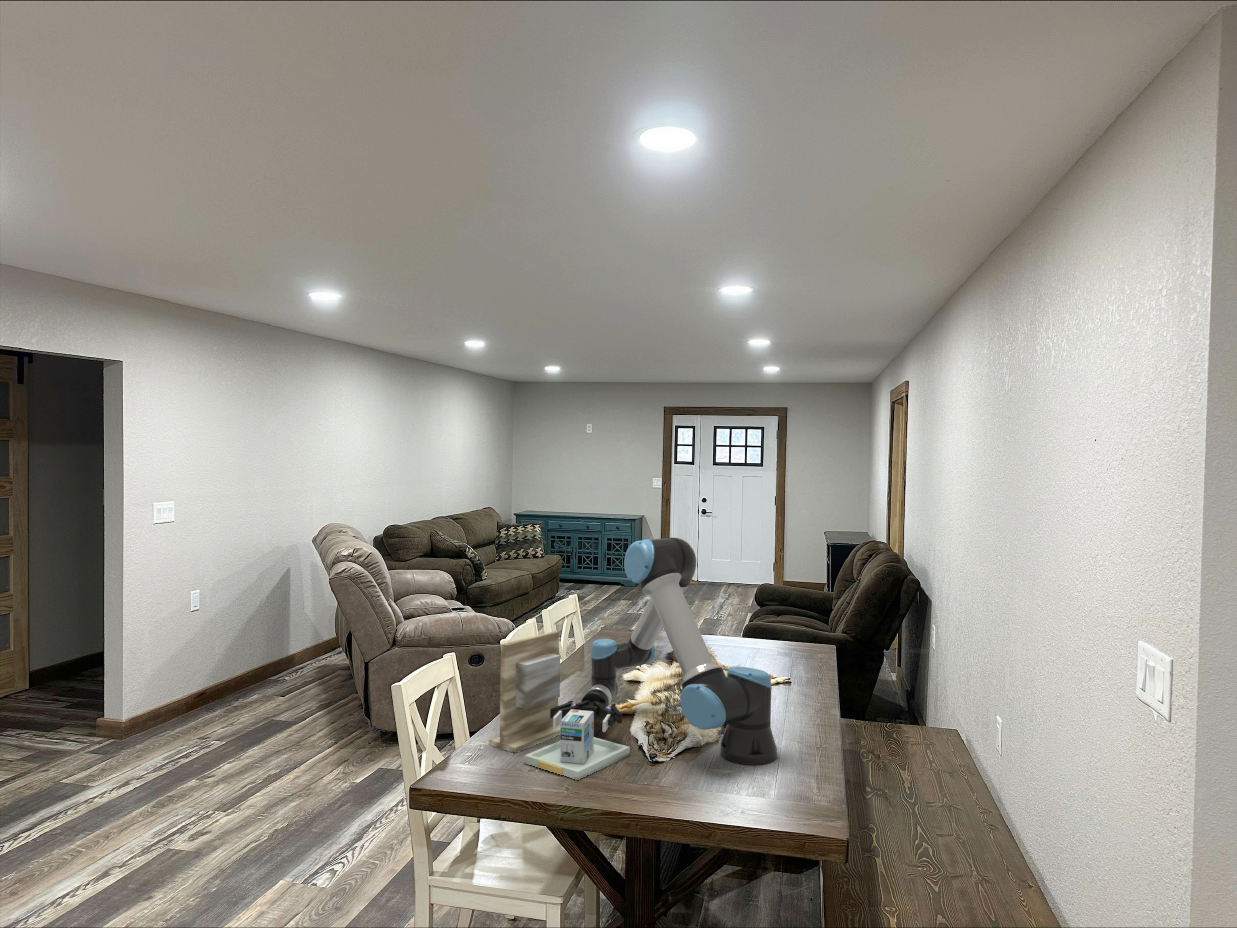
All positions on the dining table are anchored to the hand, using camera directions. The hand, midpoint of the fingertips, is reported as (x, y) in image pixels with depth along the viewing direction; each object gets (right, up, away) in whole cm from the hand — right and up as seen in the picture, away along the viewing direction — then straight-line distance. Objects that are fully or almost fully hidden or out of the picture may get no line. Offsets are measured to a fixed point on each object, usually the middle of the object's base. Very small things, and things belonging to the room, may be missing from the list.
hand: (578, 724), depth 215 cm
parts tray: (0, -9, -2) cm, 9 cm away
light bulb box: (0, -8, -1) cm, 8 cm away
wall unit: (-15, -8, +14) cm, 22 cm away
